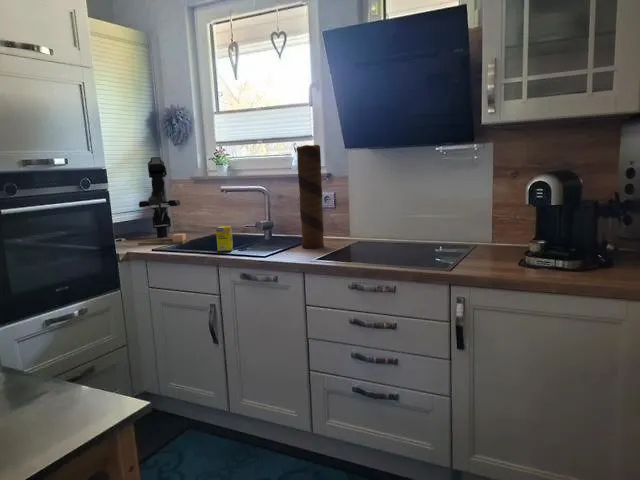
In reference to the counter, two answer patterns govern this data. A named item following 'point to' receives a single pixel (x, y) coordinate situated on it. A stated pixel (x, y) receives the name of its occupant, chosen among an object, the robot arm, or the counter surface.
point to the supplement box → (224, 239)
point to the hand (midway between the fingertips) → (161, 221)
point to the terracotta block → (178, 237)
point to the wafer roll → (310, 195)
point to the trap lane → (163, 242)
